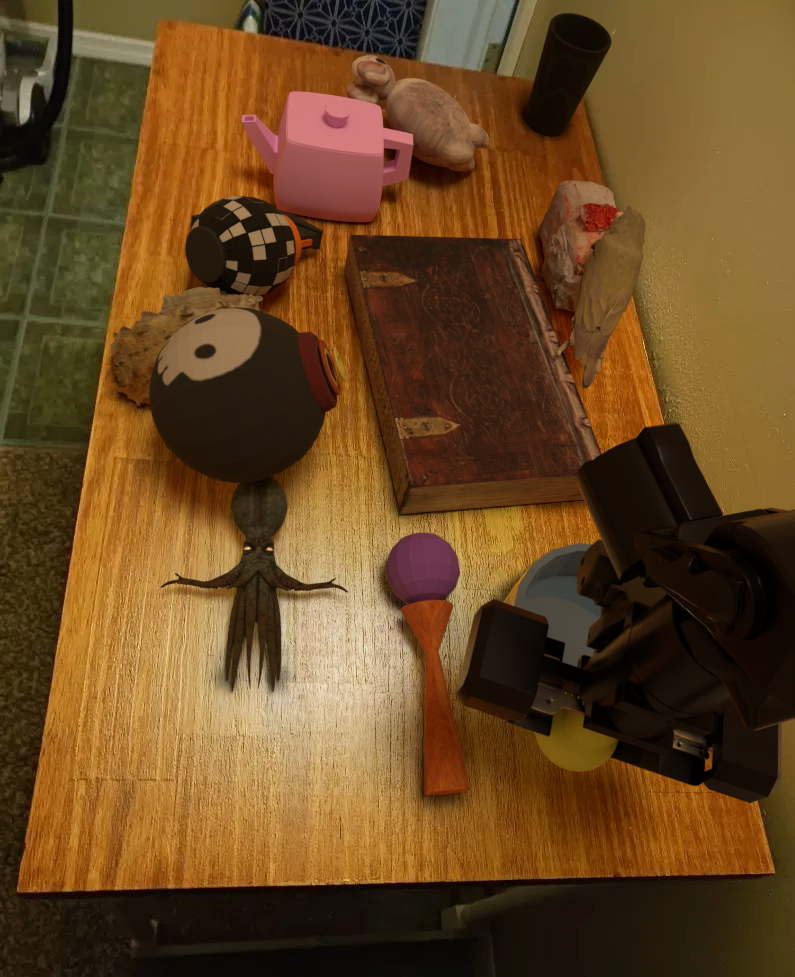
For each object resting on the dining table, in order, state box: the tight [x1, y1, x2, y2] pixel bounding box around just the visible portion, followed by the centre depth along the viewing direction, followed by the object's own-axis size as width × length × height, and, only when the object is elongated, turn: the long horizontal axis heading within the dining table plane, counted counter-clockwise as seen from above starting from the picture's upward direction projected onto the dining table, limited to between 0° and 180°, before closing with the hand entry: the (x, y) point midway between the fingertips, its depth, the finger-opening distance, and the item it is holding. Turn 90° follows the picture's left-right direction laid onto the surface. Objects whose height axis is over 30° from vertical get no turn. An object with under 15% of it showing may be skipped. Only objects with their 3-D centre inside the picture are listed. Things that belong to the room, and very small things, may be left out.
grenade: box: [184, 195, 324, 298], centre depth 79 cm, size 11×10×15 cm
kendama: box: [384, 532, 471, 796], centre depth 63 cm, size 6×6×20 cm
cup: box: [524, 12, 613, 137], centre depth 101 cm, size 8×8×12 cm
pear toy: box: [534, 692, 618, 773], centre depth 52 cm, size 5×5×9 cm
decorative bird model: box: [556, 204, 647, 390], centre depth 78 cm, size 5×20×5 cm, turn 164°
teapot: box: [241, 90, 413, 223], centre depth 86 cm, size 18×10×10 cm, turn 92°
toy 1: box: [149, 307, 347, 484], centre depth 63 cm, size 14×14×15 cm
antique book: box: [344, 234, 603, 515], centre depth 78 cm, size 29×19×5 cm, turn 12°
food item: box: [537, 179, 622, 314], centre depth 87 cm, size 14×8×10 cm, turn 5°
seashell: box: [108, 286, 264, 407], centre depth 72 cm, size 11×15×10 cm
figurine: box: [160, 476, 349, 693], centre depth 64 cm, size 14×6×18 cm
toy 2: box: [345, 54, 504, 212], centre depth 91 cm, size 28×8×15 cm
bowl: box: [503, 542, 601, 667], centre depth 66 cm, size 14×14×6 cm
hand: (567, 734), depth 55 cm, fingers closed on pear toy, 5 cm apart
